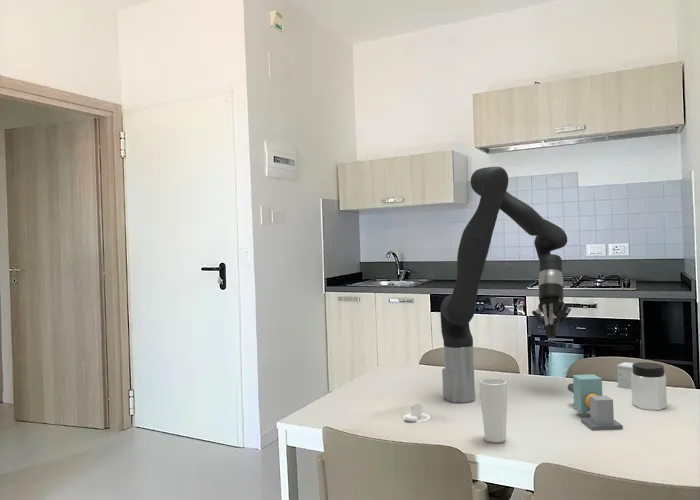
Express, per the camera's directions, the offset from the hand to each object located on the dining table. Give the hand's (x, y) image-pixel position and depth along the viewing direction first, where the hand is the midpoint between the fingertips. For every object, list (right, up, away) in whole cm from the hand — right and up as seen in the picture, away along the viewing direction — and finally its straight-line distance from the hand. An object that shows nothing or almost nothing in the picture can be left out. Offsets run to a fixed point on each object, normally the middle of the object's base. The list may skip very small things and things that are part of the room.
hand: (551, 337), depth 174 cm
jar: (+24, -18, -12) cm, 33 cm away
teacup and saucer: (-47, -22, -13) cm, 53 cm away
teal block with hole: (+4, -17, -18) cm, 25 cm away
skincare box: (+30, -18, +9) cm, 36 cm away
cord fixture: (+4, -19, -18) cm, 27 cm away
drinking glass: (-26, -21, -33) cm, 47 cm away
